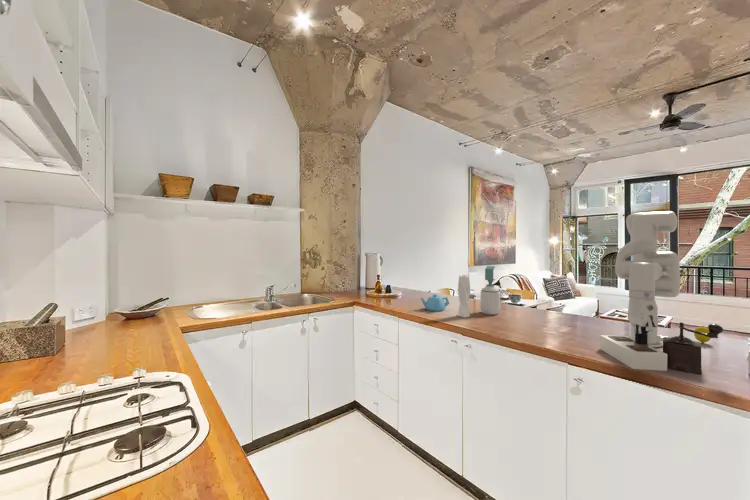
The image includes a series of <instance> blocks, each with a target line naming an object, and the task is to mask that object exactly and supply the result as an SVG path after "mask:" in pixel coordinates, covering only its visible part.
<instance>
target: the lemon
mask: <svg viewBox="0 0 750 500" xmlns="http://www.w3.org/2000/svg"><path fill="white" fill-rule="evenodd" d="M694 330H695V331H698V332H702V333H705V334H708V333H709V329H708V327H706V326H704V325H701V326H698V327H696V328H695V329H694ZM693 335H694V337H695V338H694V339H696V341H697V342H699V343H700V344H705V343H707V342H710V341H711V339H712V338H710V337H706V336H704V335H700V334H697V333H693Z"/></svg>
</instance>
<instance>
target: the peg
mask: <svg viewBox="0 0 750 500" xmlns="http://www.w3.org/2000/svg"><path fill="white" fill-rule="evenodd" d="M634 348H635V349H637V350H648V344H647V345H644V344H637V343H635V342H634Z"/></svg>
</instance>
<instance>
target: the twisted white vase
mask: <svg viewBox="0 0 750 500" xmlns="http://www.w3.org/2000/svg"><path fill="white" fill-rule="evenodd" d="M470 281H471V280H470V273H469V272H468V273H467V274H462V275H460V274H459V275H458V281H457V296H458V301H459V304H458V305H459V307H458V313H457V315H455V317H457V316H458V317H457V318H462V319H467V318H472V317H473V315H470V314H471V313H470V305H469V301H470V295H471V282H470Z"/></svg>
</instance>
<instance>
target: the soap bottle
mask: <svg viewBox="0 0 750 500" xmlns="http://www.w3.org/2000/svg"><path fill="white" fill-rule="evenodd" d="M495 266H496V265H495ZM495 266H493V265H487V266H486V267H485V269H484V280H485V281H487V282H488V283H487V284H486V285H485V287H483V288H482V289H481V290H480V311H481V312H482V313H483V314H485V315H489V316H494V315H495V316H496V315H498V314H499V313H500V312H501V292H500V290H499V289H498V288H497V287H496V286H495V284H493V283H494V281H495V280H496V278H494V270H495V268H496V267H495Z"/></svg>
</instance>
